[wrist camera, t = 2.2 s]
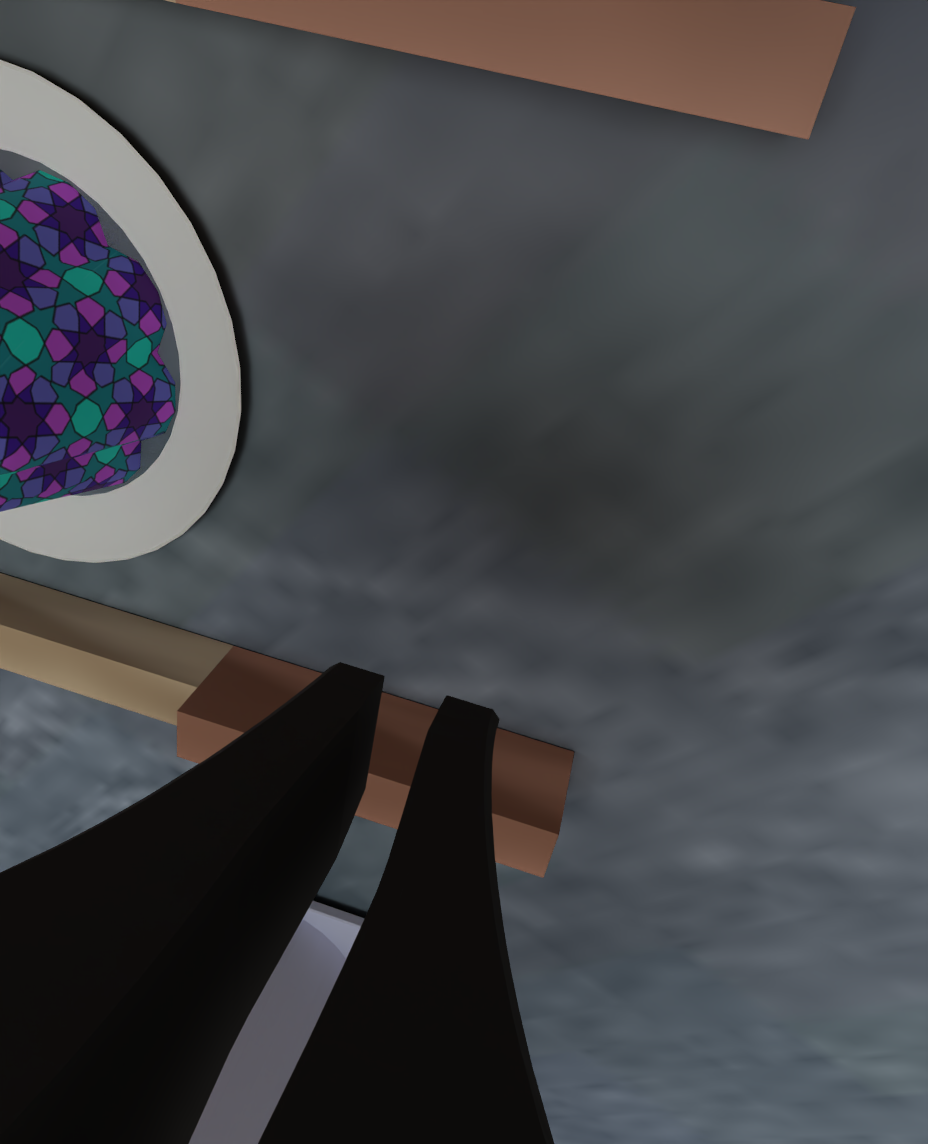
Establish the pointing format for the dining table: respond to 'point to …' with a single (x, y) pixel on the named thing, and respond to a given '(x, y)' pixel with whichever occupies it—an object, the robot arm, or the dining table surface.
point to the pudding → (102, 342)
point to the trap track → (510, 46)
